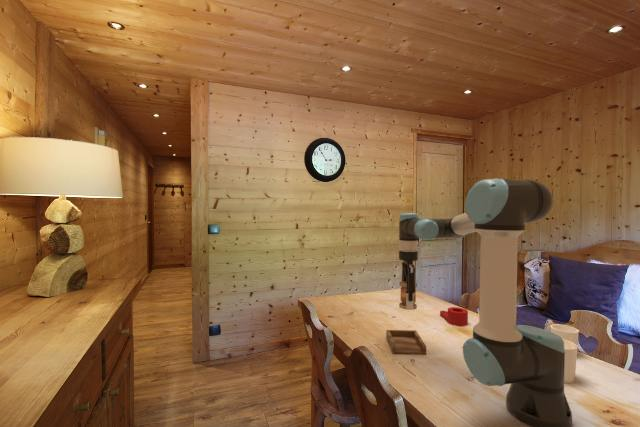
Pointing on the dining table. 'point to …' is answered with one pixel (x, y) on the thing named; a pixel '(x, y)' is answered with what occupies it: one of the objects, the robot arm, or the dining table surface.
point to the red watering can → (455, 316)
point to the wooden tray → (405, 342)
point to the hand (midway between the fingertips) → (407, 305)
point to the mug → (566, 332)
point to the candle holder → (570, 361)
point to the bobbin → (403, 295)
